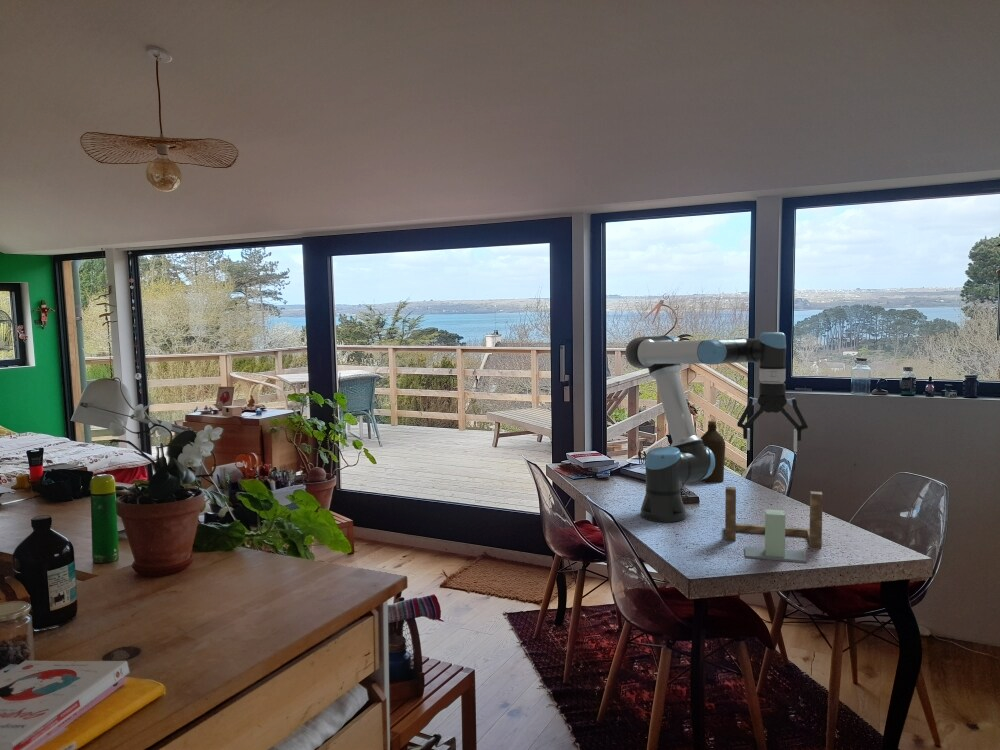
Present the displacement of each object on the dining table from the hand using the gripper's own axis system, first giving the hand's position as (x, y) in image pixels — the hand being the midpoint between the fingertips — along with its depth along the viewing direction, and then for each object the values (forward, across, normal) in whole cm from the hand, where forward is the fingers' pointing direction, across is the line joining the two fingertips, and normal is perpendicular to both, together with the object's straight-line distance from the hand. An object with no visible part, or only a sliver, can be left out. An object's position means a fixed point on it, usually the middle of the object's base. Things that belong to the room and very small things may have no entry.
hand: (771, 450), depth 213 cm
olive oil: (+27, -19, +70) cm, 77 cm away
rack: (+27, 0, -4) cm, 27 cm away
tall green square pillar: (+26, 0, -20) cm, 33 cm away
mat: (+27, 0, -20) cm, 33 cm away
